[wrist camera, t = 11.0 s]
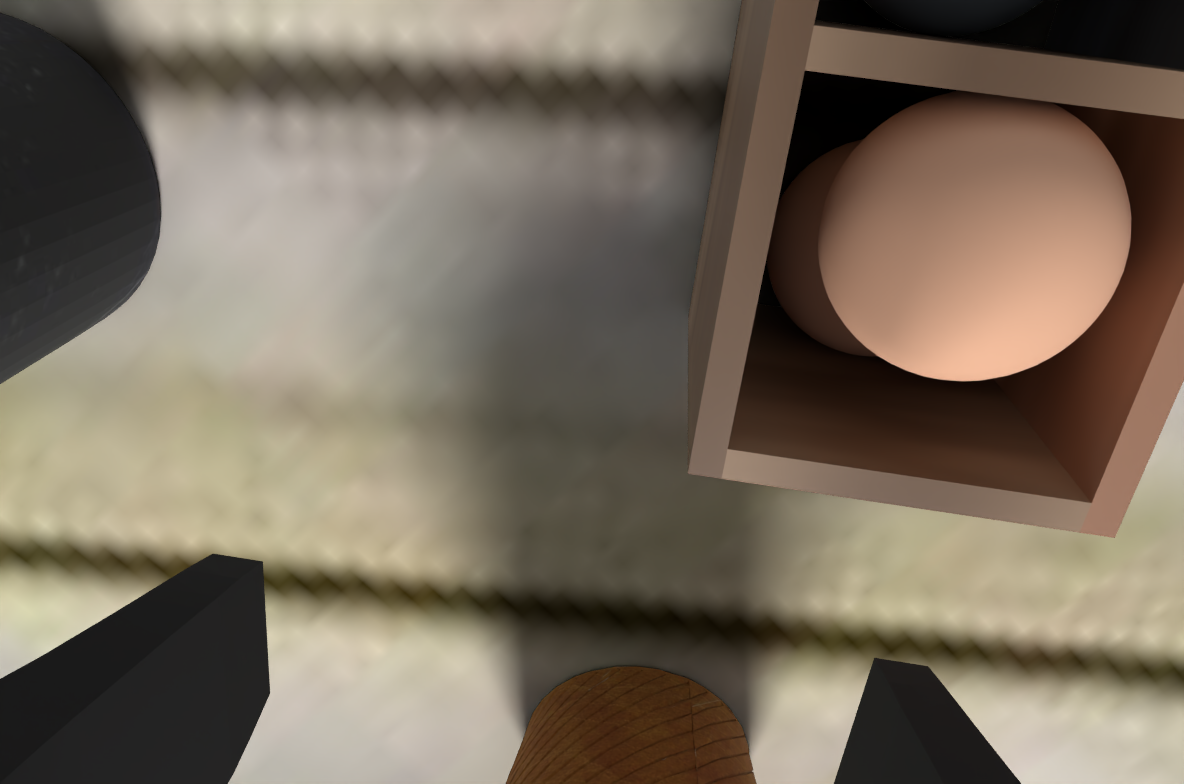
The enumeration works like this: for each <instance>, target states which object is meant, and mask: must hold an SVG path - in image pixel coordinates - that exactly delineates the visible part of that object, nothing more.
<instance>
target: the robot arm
mask: <svg viewBox="0 0 1184 784" xmlns="http://www.w3.org/2000/svg"><path fill="white" fill-rule="evenodd" d="M269 694H270V684H269V666H268V648H267V630H266V612H265V594H264V576H263V562H262V561H256V560H250V559H243V558H237V557H231V556H224V555H218V554H212V555H210V556H208V557H206V558H204V559H203V560H201V561H199V562H197V563H196V564H194V565H192V566H190V567H189V568H187V569H185V570H184V571H182V572H180V573H179V574H177V575H175V576H174V577H172V578H170V579H169V580H167V581H165V582H164V583H162V584H161V585H159V586H157V587H156V588H154V589H152V590H151V591H149V592H148V593H146V594H144V595H143V596H141V597H139V598H138V599H136V600H134V601H133V602H131V603H130V604H128V605H126V606H125V607H123V608H121V609H120V610H118V611H117V612H115V613H113V614H112V615H110V616H108V617H106V618H105V619H103V620H101V621H100V622H98V623H96V624H95V625H93V626H91V627H90V628H88V629H86V630H85V631H83V632H81V633H80V634H78V635H76V636H75V637H73V638H71V639H70V640H68V641H66V642H65V643H63V644H61V645H60V646H58V647H56V648H55V649H53V650H51V651H50V652H48V653H46V654H44V655H43V656H41V657H39V658H38V659H36V660H34V661H32V662H30V663H28V664H27V665H25V666H23V667H21V668H19V669H17V670H16V671H14V672H12V673H10V674H8V675H7V676H5V677H3V678H1V679H0V784H228V782H229V780H230V779H231V777H232V775H233V773H234V771H235V769H236V767H237V765H238V763H239V761H240V759H241V756H242V754H243V752H244V750H245V748H246V746H247V744H248V742H249V740H250V737H251V735H252V733H253V731H254V728H255V726H256V724H257V722H258V719H259V717H260V715H261V712H262V710H263V708H264V706H265V703H266V701H267V699H268V697H269ZM834 784H1021V783H1020V781H1019V780H1018V779H1017V778H1016V777H1015V775H1014V774H1013V773H1012V772H1011V770H1010V769H1009V768H1008V767H1007V765H1006V764H1005V763H1004V762H1003V760H1002V759H1001V758H1000V757H999V755H998V754H997V753H996V751H995V750H994V749H993V748H992V746H991V745H990V744H989V743H988V741H987V740H986V739H985V738H984V736H983V735H982V734H981V733H980V731H979V730H978V729H977V727H976V726H975V725H974V724H973V722H972V721H971V720H970V718H969V717H968V716H967V715H966V713H965V712H964V711H963V710H962V708H961V707H960V706H959V704H958V703H957V702H956V701H955V699H954V698H953V697H952V695H951V694H950V693H949V692H948V690H947V689H946V688H945V687H944V685H943V684H942V683H941V682H940V680H939V679H938V678H937V677H936V675H935V674H934V673H933V672H932V671H931V669H930V668H929V667H928V666H922V665H916V664H910V663H903V662H897V661H891V660H884V659H878V658H874V661H873V664H872V667H871V670H870V673H869V676H868V679H867V682H866V685H865V689H864V692H863V695H862V698H861V701H860V704H859V707H858V710H857V713H856V717H855V720H854V723H853V726H852V729H851V732H850V735H849V738H848V741H847V744H846V748H845V751H844V754H843V757H842V760H841V763H840V766H839V769H838V772H837V776H836V779H835V782H834Z"/></svg>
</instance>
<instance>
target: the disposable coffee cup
mask: <svg viewBox="0 0 1184 784" xmlns="http://www.w3.org/2000/svg"><path fill="white" fill-rule="evenodd" d="M752 770H753V767H752V763H751V759H750V756H749V747H748V744H747V741H746V738H745V735H744V732H743V729H742V726H741V725H740V723H739V722H738V720H737V719H736V717H735V716H734V714H733V713H732V711H731V710H730V709H729V708H728V707H727V705H726V704H725V703H724V702H723V701H722V700H721V699H719V698H718V697H717V696H715V695H714V694H713V693H711V692H710V691H709V690H707V689H706V688H704V687H703V686H701V685H699V684H697V683H695V682H694V681H692V680H690V679H688V678H685V677H682V676H679V675H675V674H672V673H669V672H666V671H662V670H659V669H652V668H646V667H611V668H605V669H600V670H595V671H590V672H587V673H584V674H581V675H578V676H575V677H573V678H571V679H569V680H568V681H566V682H564V683H562V684H561V685H559V686H557V687H556V688H555V689H553V690H552V691H551V692H550V693H549V694H548V695H547V696H546V697H544V698H543V699H542V701H541V702H540V703H539V705H538V706H537V708H536V709H535V711H534V712H533V714H532V716H531V719H530V722H529V724H528V727H527V730H526V733H525V735H524V738H523V741H522V743H521V746H520V749H519V751H518V754H517V756H516V759H515V762H514V764H513V767H512V769H511V771H510V774H509V776H508V779H507V782H506V784H756V780H755V777H754V773H753V772H752Z"/></svg>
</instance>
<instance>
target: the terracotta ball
mask: <svg viewBox="0 0 1184 784" xmlns="http://www.w3.org/2000/svg"><path fill="white" fill-rule="evenodd" d="M1130 242H1131V209H1130V202H1129V198H1128V194H1127V190H1126V186H1125V182H1124V179H1123V177H1122V174H1121V172H1120V169H1119V167H1118V166H1117V164H1116V162H1115V160H1114V158H1113V157H1112V155H1111V154H1110V152H1109V151H1108V149H1107V148H1106V147H1105V145H1104V144H1103V142H1102V141H1101V140H1100V139H1099V138H1098V136H1097V135H1096V134H1095V133H1094V132H1093V131H1092V130H1091V129H1090V128H1089V127H1088V126H1087V125H1086V124H1084V123H1083V122H1082V121H1081V120H1079V119H1078V118H1077V117H1075V116H1074V115H1072V114H1071V113H1069V112H1068V111H1066V110H1065V109H1063V108H1061V107H1059V106H1057V105H1055V104H1053V103H1051V102H1047V101H1039V100H1032V99H1024V98H1016V97H1008V96H1001V95H993V94H985V93H977V92H969V91H962V90H961V91H955V92H951V93H947V94H943V95H939V96H935V97H931V98H929V99H926V100H924V101H921V102H918V103H916V104H914V105H912V106H910V107H908V108H906V109H904V110H902V111H900V112H899V113H897V114H895V115H893V116H892V117H890V118H889V119H888V120H886V121H885V122H883V123H882V124H881V125H879V126H878V127H877V128H876V129H874V130H873V131H872V132H871V133H870V134H869V135H868V136H867V137H866V138H865V139H864V140H863V141H862V142H861V143H860V144H859V145H858V146H857V147H856V148H855V149H854V150H853V151H852V153H851V154H850V155H849V157H848V158H847V160H846V161H845V163H844V164H843V166H842V167H841V169H840V170H839V172H838V173H837V175H836V177H835V179H834V181H833V183H832V186H831V188H830V190H829V192H828V195H827V197H826V200H825V203H824V207H823V212H822V216H821V220H820V224H819V235H818V256H819V266H820V270H821V274H822V279H823V283H824V286H825V289H826V292H827V294H828V297H829V300H830V301H831V303H832V305H833V307H834V309H835V311H836V313H837V314H838V316H839V317H840V318H841V320H842V321H843V323H844V324H845V326H846V327H847V328H848V329H849V330H850V332H851V333H852V334H853V335H854V336H855V337H856V338H857V339H858V340H859V341H860V342H861V343H862V344H863V345H864V346H865V347H866V348H868V349H869V350H870V351H872V352H873V353H875V354H876V355H877V356H879V357H880V358H882V359H884V360H886V361H887V362H889V363H891V364H893V365H895V366H897V367H900V368H902V369H904V370H906V371H909V372H912V373H915V374H918V375H921V376H925V377H929V378H934V379H940V380H952V381H980V380H986V379H992V378H997V377H1003V376H1008V375H1011V374H1014V373H1017V372H1020V371H1023V370H1026V369H1028V368H1031V367H1033V366H1036V365H1038V364H1040V363H1041V362H1043V361H1045V360H1047V359H1049V358H1051V357H1052V356H1054V355H1056V354H1057V353H1059V352H1061V351H1062V350H1063V349H1065V348H1066V347H1067V346H1069V345H1070V344H1071V343H1073V342H1074V341H1075V340H1076V339H1077V338H1078V337H1080V336H1081V335H1082V334H1083V333H1084V332H1085V331H1086V330H1087V329H1088V328H1089V327H1090V326H1091V325H1092V324H1093V322H1094V321H1095V320H1096V319H1097V318H1098V316H1099V315H1100V314H1101V312H1102V311H1103V310H1104V308H1105V307H1106V305H1107V304H1108V302H1109V301H1110V299H1111V298H1112V296H1113V294H1114V292H1115V290H1116V288H1117V286H1118V284H1119V281H1120V279H1121V276H1122V274H1123V272H1124V268H1125V265H1126V261H1127V257H1128V252H1129V248H1130Z"/></svg>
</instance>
